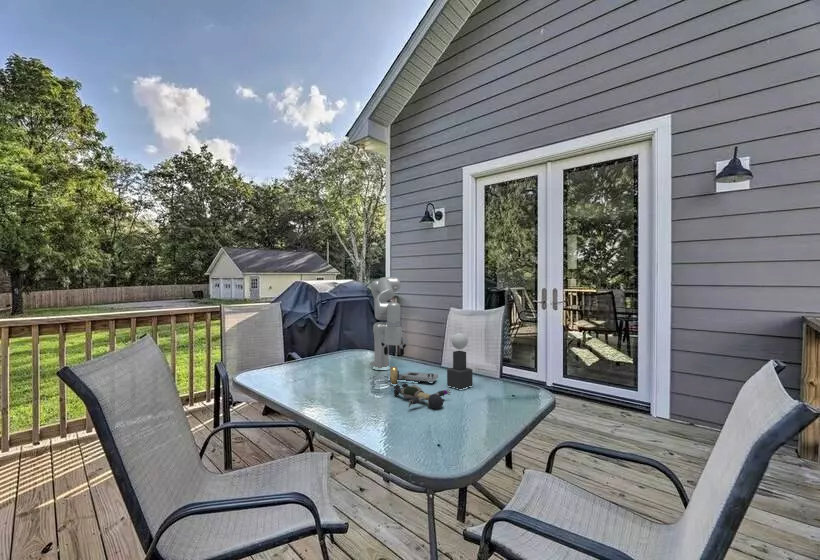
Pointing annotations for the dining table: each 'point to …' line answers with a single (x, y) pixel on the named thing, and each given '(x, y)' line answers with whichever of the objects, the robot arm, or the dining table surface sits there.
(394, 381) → the pin
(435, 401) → the toy
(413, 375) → the grey flat block
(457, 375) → the sculpture
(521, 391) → the dining table surface
